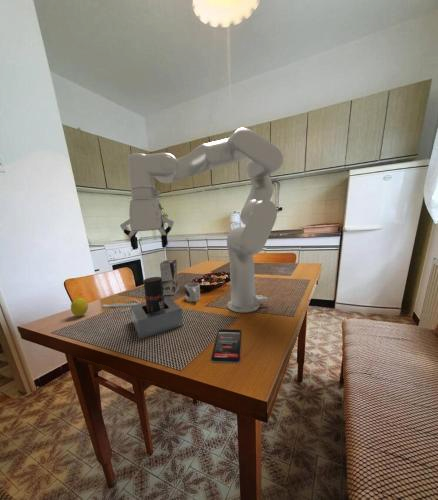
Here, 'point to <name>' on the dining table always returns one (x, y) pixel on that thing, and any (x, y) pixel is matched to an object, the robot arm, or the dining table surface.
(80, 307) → the lemon
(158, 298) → the deodorant
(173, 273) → the coffee box
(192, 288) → the mug
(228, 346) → the smartphone
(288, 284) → the dining table surface
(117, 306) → the crossbow
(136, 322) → the socket block
